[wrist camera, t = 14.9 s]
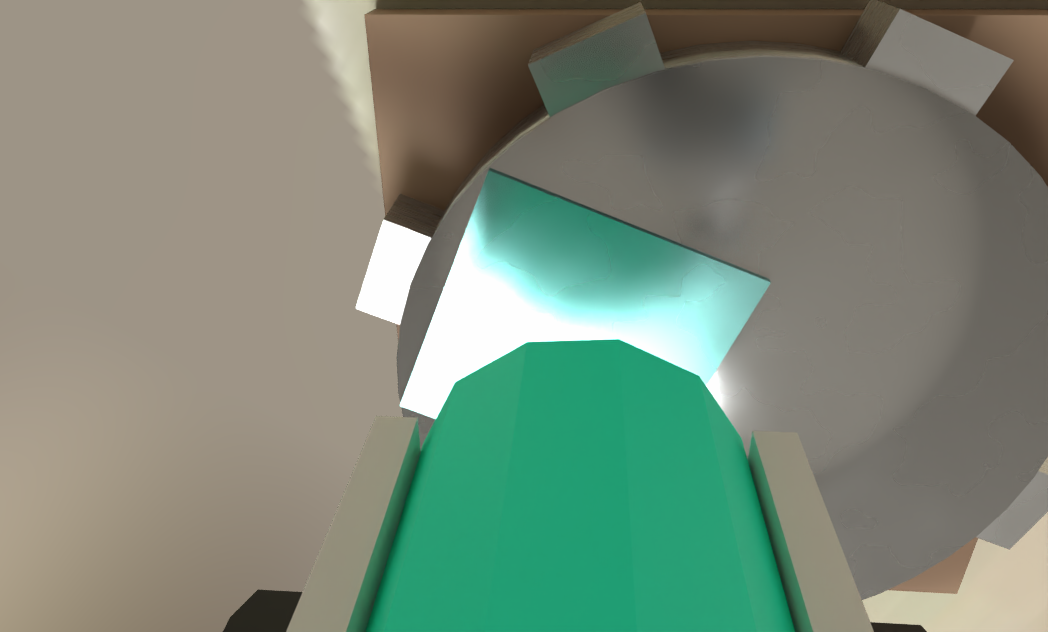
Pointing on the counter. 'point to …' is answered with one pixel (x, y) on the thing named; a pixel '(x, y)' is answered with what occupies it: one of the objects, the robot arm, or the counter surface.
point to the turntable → (767, 263)
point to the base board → (512, 34)
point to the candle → (581, 505)
